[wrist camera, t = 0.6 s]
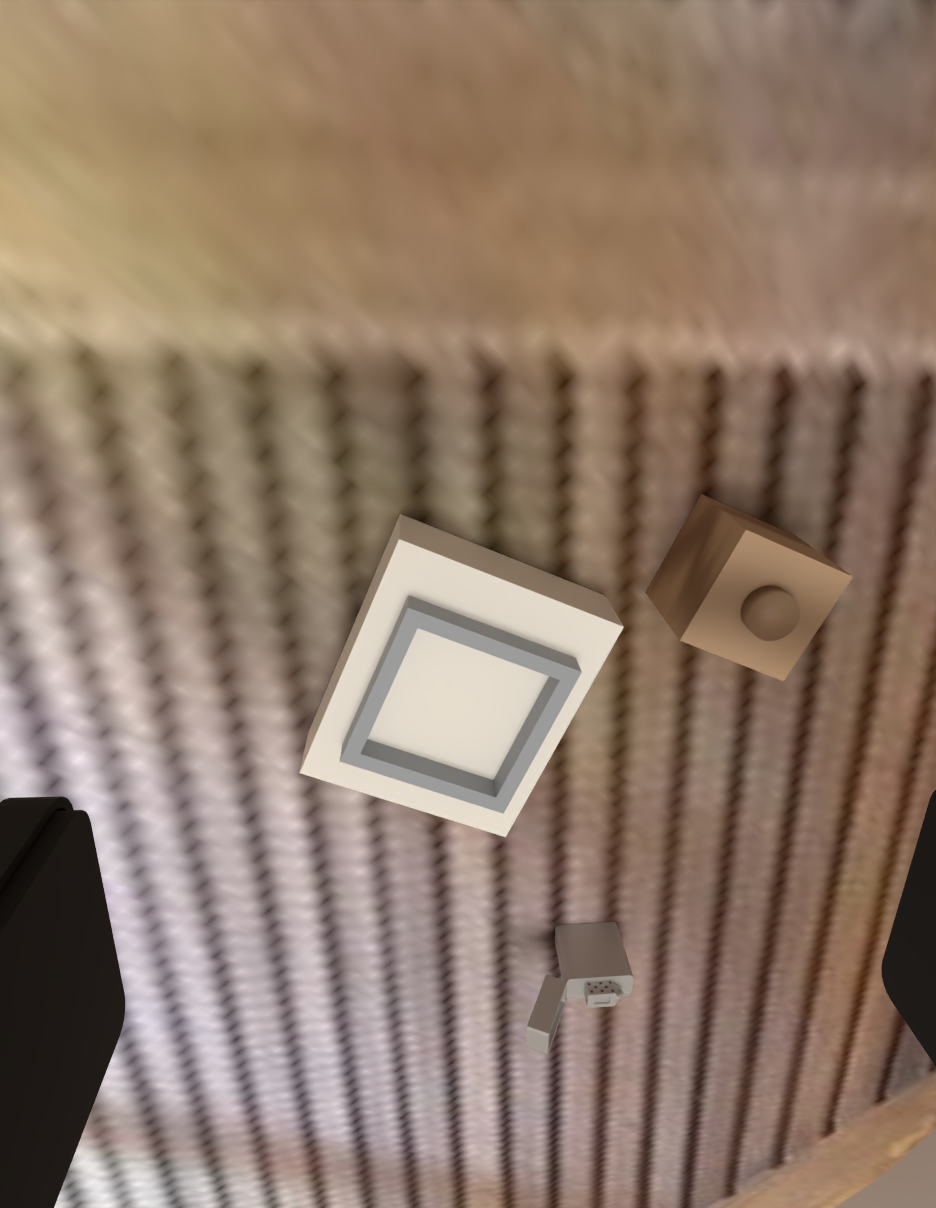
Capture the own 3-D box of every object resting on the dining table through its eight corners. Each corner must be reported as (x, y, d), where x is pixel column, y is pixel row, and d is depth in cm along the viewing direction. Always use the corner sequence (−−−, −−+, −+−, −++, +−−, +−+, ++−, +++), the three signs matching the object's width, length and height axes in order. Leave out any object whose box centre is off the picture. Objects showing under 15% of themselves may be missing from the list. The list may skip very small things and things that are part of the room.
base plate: (400, 513, 40) (398, 550, 35) (605, 595, 43) (631, 640, 37) (308, 731, 45) (295, 790, 40) (498, 792, 47) (508, 855, 42)
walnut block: (700, 493, 41) (754, 536, 34) (795, 535, 42) (864, 584, 36) (645, 591, 43) (686, 649, 36) (737, 628, 44) (792, 691, 38)
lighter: (616, 921, 52) (650, 1028, 45) (614, 940, 53) (647, 1049, 46) (511, 928, 52) (527, 1037, 44) (510, 947, 53) (527, 1058, 45)
